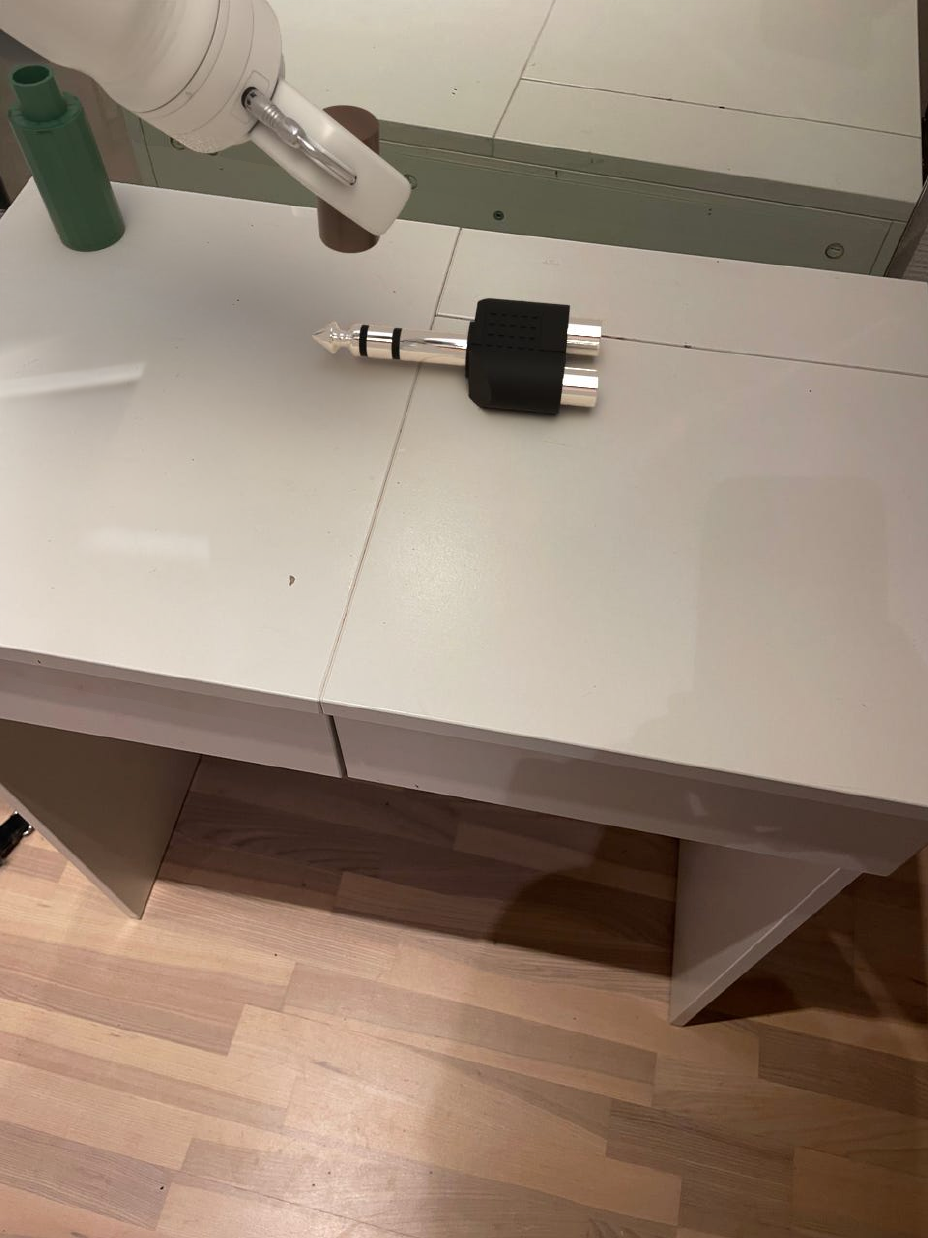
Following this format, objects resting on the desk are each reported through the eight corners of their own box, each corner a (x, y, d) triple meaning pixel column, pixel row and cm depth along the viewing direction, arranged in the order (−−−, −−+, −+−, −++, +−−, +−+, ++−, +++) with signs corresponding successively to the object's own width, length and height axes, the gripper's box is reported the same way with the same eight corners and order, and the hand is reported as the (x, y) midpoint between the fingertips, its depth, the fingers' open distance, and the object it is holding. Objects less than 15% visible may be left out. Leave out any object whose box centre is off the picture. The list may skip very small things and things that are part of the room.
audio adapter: (600, 382, 70) (294, 354, 71) (591, 430, 74) (303, 402, 76) (605, 293, 75) (321, 269, 77) (597, 342, 80) (329, 318, 81)
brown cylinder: (340, 260, 61) (334, 149, 55) (307, 227, 63) (297, 115, 56) (392, 240, 63) (392, 130, 56) (358, 209, 65) (354, 98, 58)
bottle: (58, 254, 86) (-11, 97, 73) (61, 215, 89) (-6, 58, 76) (124, 247, 87) (67, 90, 74) (124, 208, 90) (70, 51, 77)
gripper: (343, 89, 43) (478, 208, 55) (137, -72, 50) (295, 63, 62) (276, 204, 45) (420, 294, 57) (87, 32, 52) (250, 144, 64)
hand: (354, 172), depth 60 cm, fingers closed on brown cylinder, 4 cm apart
